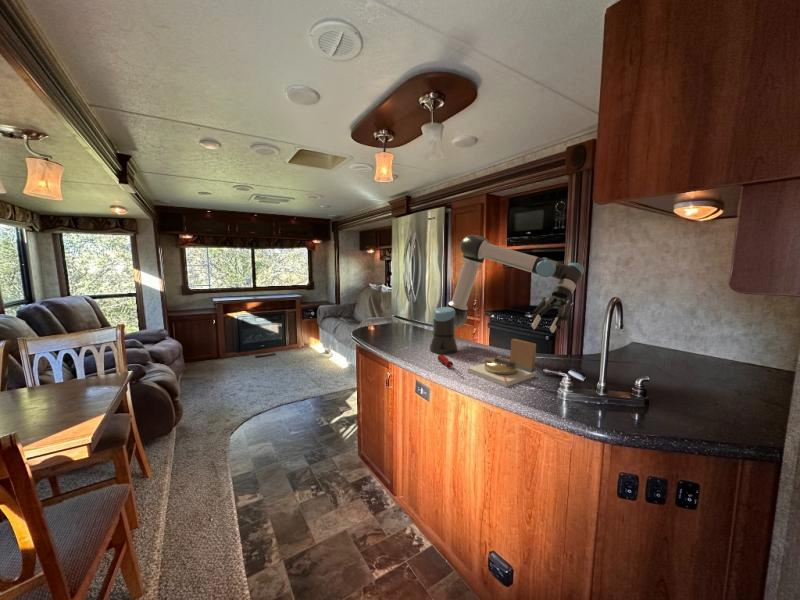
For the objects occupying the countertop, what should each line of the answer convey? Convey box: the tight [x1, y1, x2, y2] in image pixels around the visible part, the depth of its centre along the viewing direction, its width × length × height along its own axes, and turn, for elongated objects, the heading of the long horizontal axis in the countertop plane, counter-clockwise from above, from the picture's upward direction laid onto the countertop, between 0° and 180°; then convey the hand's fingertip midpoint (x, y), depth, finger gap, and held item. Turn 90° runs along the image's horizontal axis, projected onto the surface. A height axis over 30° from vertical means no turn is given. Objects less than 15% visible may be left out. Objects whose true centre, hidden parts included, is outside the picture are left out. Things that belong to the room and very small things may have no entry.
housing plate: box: [467, 362, 536, 388], centre depth 138 cm, size 20×20×2 cm
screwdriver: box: [437, 354, 463, 376], centre depth 146 cm, size 4×25×4 cm, turn 14°
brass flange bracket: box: [484, 338, 537, 375], centre depth 134 cm, size 22×14×15 cm, turn 35°
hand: (542, 329), depth 139 cm, fingers open, 8 cm apart
